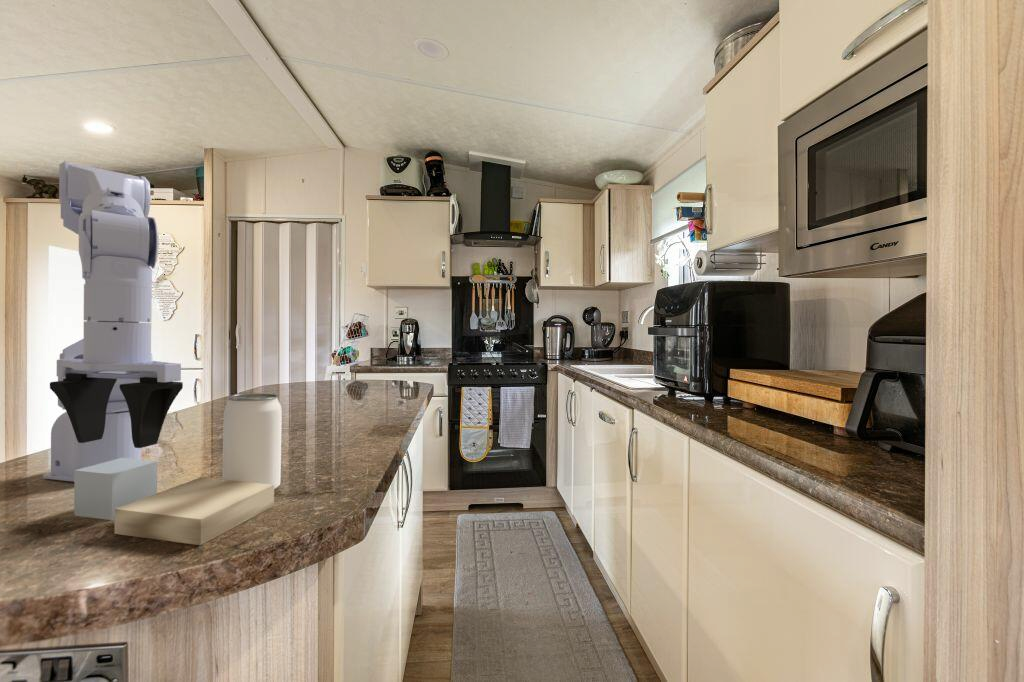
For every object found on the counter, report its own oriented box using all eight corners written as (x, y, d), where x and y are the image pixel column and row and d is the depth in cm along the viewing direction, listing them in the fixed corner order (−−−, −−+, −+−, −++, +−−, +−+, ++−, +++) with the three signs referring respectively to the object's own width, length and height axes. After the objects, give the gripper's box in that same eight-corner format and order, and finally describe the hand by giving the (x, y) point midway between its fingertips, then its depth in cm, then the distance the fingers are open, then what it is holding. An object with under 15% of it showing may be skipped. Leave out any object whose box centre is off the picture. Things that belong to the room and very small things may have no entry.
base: (114, 533, 45) (114, 508, 45) (200, 497, 55) (201, 477, 55) (200, 545, 43) (200, 519, 43) (273, 505, 53) (274, 484, 53)
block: (74, 516, 49) (74, 470, 49) (121, 499, 54) (122, 457, 54) (111, 520, 48) (112, 474, 48) (156, 503, 53) (157, 461, 53)
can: (254, 501, 54) (256, 401, 54) (209, 495, 56) (210, 398, 55) (291, 483, 61) (293, 394, 60) (249, 479, 62) (251, 391, 62)
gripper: (23, 319, 48) (22, 447, 48) (136, 322, 45) (135, 457, 46) (95, 321, 55) (94, 433, 55) (197, 324, 52) (196, 441, 53)
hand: (117, 443), depth 51 cm, fingers open, 7 cm apart
